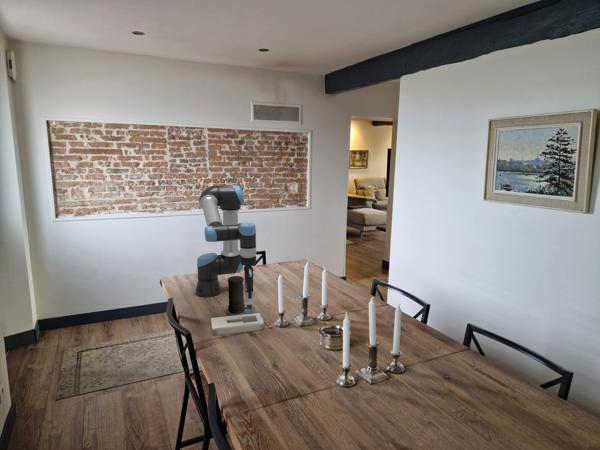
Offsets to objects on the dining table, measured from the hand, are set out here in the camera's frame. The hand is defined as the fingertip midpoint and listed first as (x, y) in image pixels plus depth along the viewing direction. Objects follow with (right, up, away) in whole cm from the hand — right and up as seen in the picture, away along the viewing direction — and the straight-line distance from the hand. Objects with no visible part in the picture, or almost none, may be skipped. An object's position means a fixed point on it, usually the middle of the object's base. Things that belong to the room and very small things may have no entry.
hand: (249, 303), depth 190 cm
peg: (0, -4, +1) cm, 4 cm away
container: (-9, -8, +20) cm, 24 cm away
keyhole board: (-6, -12, +1) cm, 13 cm away
